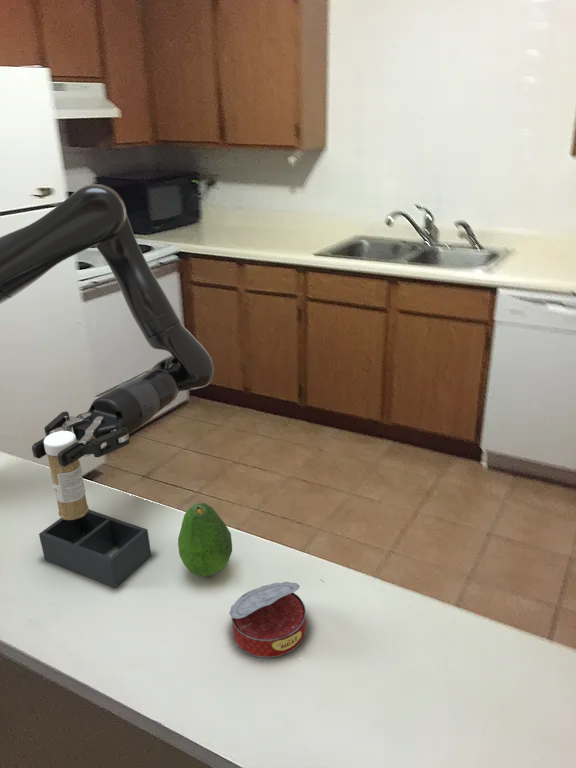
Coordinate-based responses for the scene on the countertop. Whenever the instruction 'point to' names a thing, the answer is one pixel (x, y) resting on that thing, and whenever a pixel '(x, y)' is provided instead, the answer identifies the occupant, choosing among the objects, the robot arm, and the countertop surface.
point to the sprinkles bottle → (66, 477)
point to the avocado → (204, 541)
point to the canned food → (269, 620)
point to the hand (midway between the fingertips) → (47, 456)
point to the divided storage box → (96, 547)
